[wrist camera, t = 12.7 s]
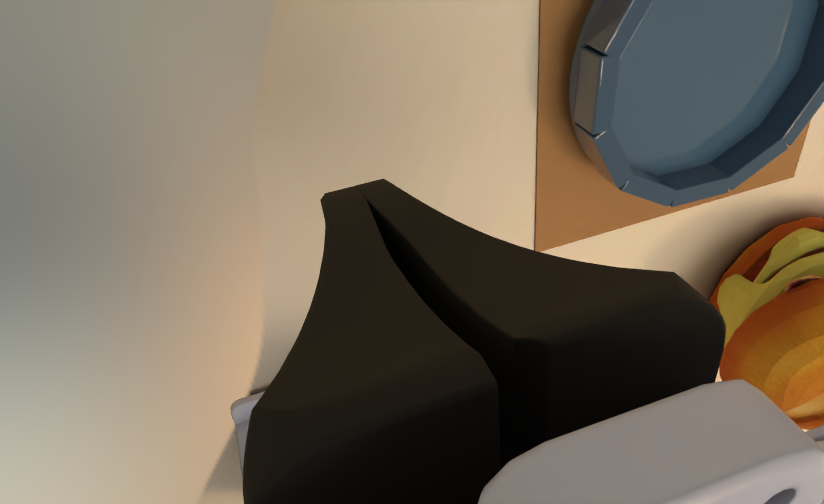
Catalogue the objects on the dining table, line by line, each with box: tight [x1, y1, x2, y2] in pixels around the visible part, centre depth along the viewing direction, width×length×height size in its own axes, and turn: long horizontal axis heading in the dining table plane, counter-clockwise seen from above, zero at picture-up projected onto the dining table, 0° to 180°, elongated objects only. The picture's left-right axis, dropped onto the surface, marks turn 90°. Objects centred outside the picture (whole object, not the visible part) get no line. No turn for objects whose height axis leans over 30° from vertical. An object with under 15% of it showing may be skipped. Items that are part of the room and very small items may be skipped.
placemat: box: [535, 0, 811, 252], centre depth 24 cm, size 14×16×1 cm
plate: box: [569, 0, 824, 207], centre depth 23 cm, size 11×11×2 cm
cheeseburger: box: [709, 216, 824, 430], centre depth 32 cm, size 10×11×10 cm
